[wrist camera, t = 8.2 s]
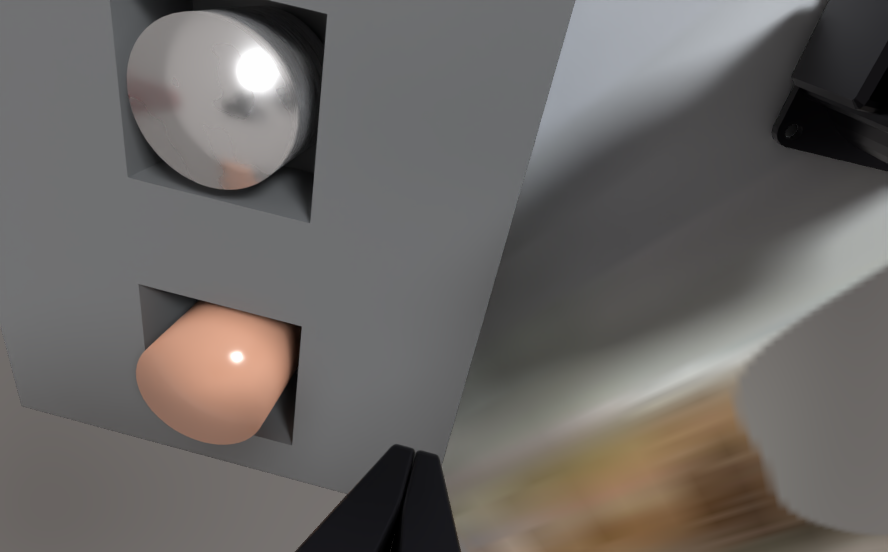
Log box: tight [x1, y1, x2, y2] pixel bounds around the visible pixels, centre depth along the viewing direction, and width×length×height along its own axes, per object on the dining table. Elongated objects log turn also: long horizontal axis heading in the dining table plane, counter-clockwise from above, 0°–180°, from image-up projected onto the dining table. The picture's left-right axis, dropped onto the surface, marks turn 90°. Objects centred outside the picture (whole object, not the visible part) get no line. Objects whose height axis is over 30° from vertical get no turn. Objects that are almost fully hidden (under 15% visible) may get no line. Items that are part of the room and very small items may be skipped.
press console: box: [0, 0, 575, 494], centre depth 20 cm, size 18×20×5 cm
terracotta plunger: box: [136, 300, 302, 445], centre depth 21 cm, size 5×5×4 cm
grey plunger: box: [127, 6, 325, 190], centre depth 17 cm, size 5×5×4 cm
